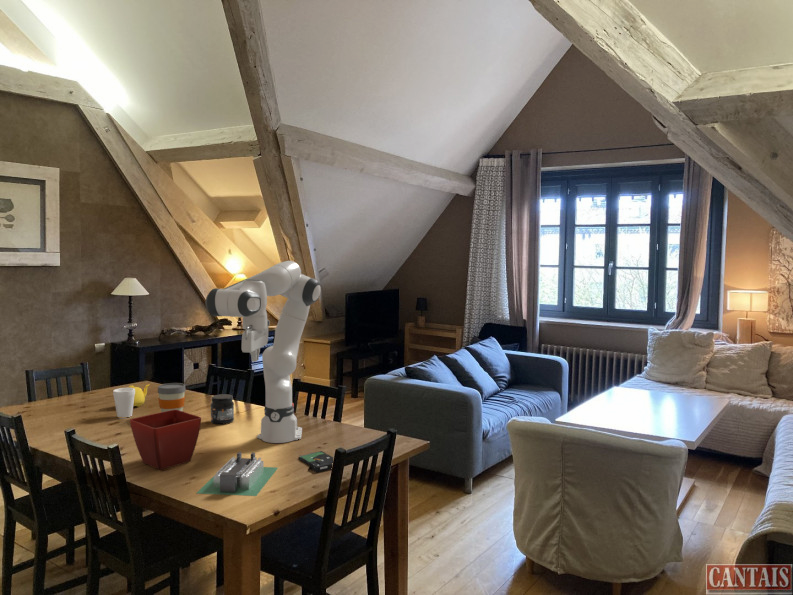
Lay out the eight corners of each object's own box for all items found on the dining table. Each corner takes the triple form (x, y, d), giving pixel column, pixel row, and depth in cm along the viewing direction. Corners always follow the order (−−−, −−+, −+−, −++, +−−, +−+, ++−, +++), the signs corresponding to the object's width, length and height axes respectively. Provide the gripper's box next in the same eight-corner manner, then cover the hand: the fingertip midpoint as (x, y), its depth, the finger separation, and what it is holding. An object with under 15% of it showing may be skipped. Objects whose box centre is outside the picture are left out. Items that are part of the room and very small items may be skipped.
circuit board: (224, 468, 223) (224, 465, 223) (278, 470, 221) (278, 467, 221) (195, 496, 197) (195, 493, 197) (256, 498, 195) (256, 495, 195)
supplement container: (213, 418, 288) (213, 393, 287) (236, 418, 289) (236, 393, 288) (207, 425, 278) (207, 399, 277) (231, 425, 278) (230, 399, 277)
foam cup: (128, 413, 297) (128, 386, 296) (139, 416, 291) (138, 389, 290) (109, 417, 289) (109, 390, 288) (120, 420, 284) (119, 393, 283)
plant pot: (129, 462, 227) (128, 418, 226) (176, 450, 242) (175, 408, 241) (155, 475, 215) (154, 428, 214) (203, 461, 230) (202, 417, 229)
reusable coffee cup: (152, 417, 289) (151, 386, 288) (174, 411, 300) (174, 381, 299) (169, 421, 283) (169, 389, 282) (191, 415, 293) (191, 384, 292)
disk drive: (341, 468, 225) (321, 457, 237) (341, 461, 225) (321, 450, 237) (316, 474, 219) (297, 462, 231) (317, 466, 219) (297, 455, 231)
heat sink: (230, 470, 217) (230, 451, 217) (263, 472, 216) (263, 452, 216) (209, 492, 198) (209, 471, 197) (245, 493, 197) (245, 472, 197)
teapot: (146, 401, 320) (145, 381, 319) (155, 405, 312) (154, 384, 311) (110, 407, 307) (110, 386, 306) (118, 411, 299) (118, 390, 298)
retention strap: (242, 463, 216) (242, 457, 216) (250, 463, 216) (250, 458, 216) (225, 481, 200) (225, 474, 200) (234, 481, 200) (234, 475, 199)
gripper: (254, 327, 212) (254, 366, 213) (271, 320, 233) (271, 356, 234) (236, 326, 213) (237, 365, 214) (255, 320, 233) (255, 356, 234)
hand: (255, 360), depth 224 cm, fingers closed
